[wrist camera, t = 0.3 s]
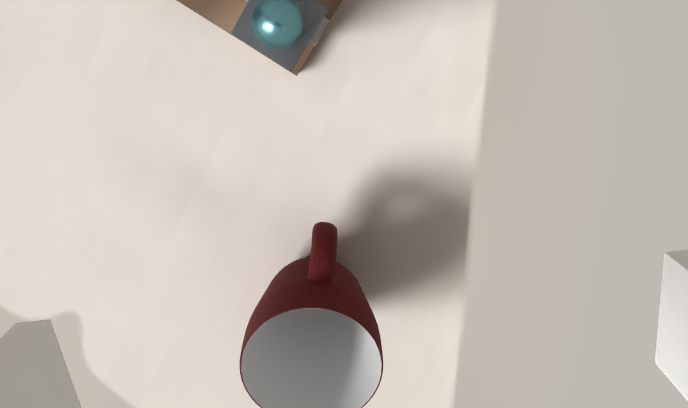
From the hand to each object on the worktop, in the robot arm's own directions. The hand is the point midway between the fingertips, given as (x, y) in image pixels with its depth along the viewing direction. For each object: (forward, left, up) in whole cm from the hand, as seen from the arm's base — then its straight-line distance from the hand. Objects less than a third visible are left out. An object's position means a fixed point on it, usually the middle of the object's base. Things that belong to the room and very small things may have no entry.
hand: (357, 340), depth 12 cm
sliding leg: (-5, +6, -22) cm, 24 cm away
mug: (+5, -11, -26) cm, 28 cm away
